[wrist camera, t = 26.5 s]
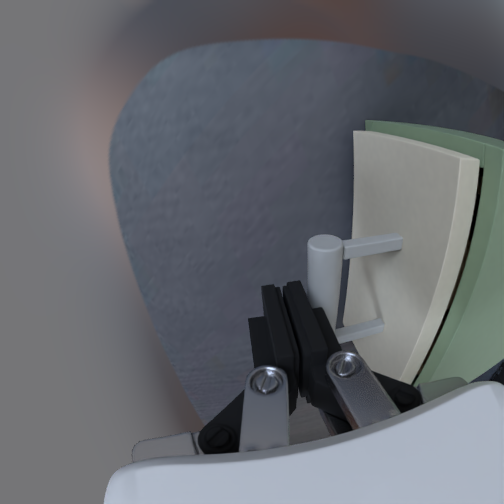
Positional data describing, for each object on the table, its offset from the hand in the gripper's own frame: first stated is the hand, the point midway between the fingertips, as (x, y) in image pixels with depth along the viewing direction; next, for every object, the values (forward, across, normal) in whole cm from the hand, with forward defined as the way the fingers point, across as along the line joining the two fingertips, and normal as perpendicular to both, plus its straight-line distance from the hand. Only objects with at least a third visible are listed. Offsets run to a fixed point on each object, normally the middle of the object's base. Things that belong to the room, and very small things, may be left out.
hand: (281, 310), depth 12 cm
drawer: (+5, -10, 0) cm, 11 cm away
